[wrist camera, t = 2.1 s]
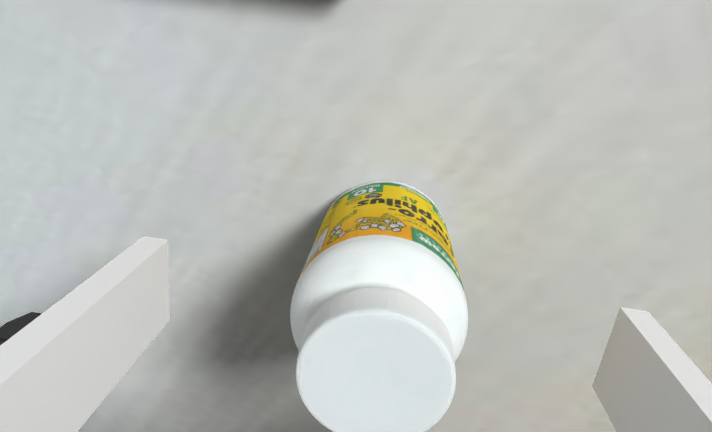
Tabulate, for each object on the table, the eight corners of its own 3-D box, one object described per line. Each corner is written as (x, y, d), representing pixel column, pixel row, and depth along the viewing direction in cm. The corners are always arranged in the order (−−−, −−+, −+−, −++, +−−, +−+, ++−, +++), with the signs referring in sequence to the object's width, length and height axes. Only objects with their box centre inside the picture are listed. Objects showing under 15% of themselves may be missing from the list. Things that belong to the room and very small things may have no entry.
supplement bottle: (303, 264, 22) (235, 419, 13) (351, 155, 20) (310, 246, 11) (414, 311, 22) (423, 495, 13) (470, 208, 20) (526, 339, 11)
